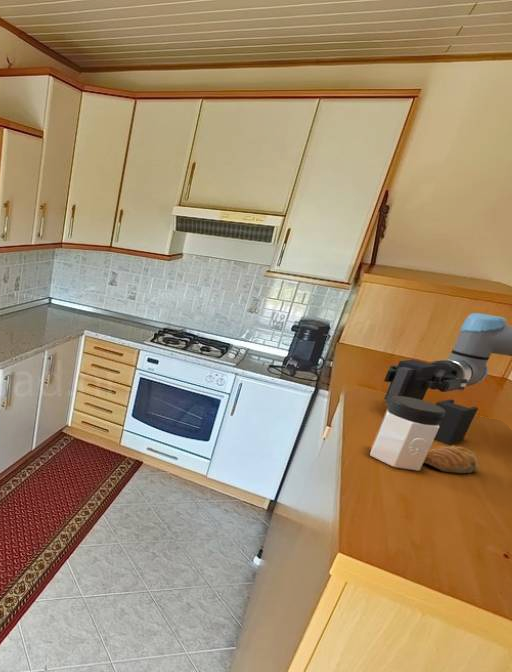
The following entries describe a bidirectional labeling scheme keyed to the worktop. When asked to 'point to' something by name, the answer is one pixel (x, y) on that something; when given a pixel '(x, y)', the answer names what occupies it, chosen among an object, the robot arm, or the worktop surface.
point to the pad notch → (454, 421)
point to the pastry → (452, 459)
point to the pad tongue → (409, 379)
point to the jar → (407, 432)
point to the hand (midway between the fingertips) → (401, 380)
